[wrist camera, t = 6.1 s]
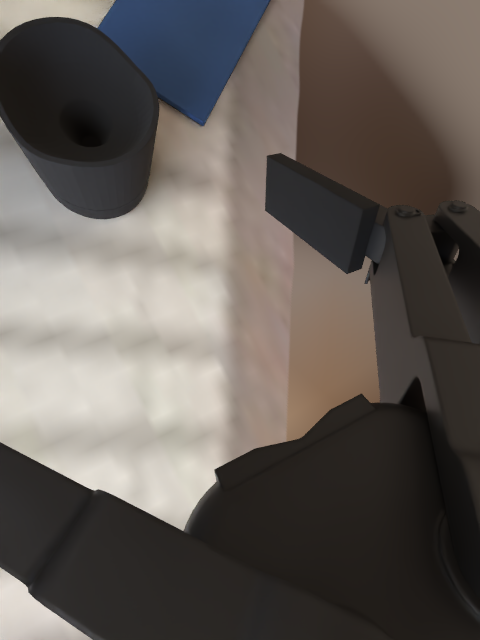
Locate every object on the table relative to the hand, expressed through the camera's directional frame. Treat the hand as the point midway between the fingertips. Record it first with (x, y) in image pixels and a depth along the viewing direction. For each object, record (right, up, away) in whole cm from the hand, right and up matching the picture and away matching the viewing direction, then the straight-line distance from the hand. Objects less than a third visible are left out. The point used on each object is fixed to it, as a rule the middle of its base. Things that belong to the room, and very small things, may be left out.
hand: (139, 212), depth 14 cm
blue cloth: (-1, +26, +19) cm, 33 cm away
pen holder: (-9, +8, +15) cm, 19 cm away
